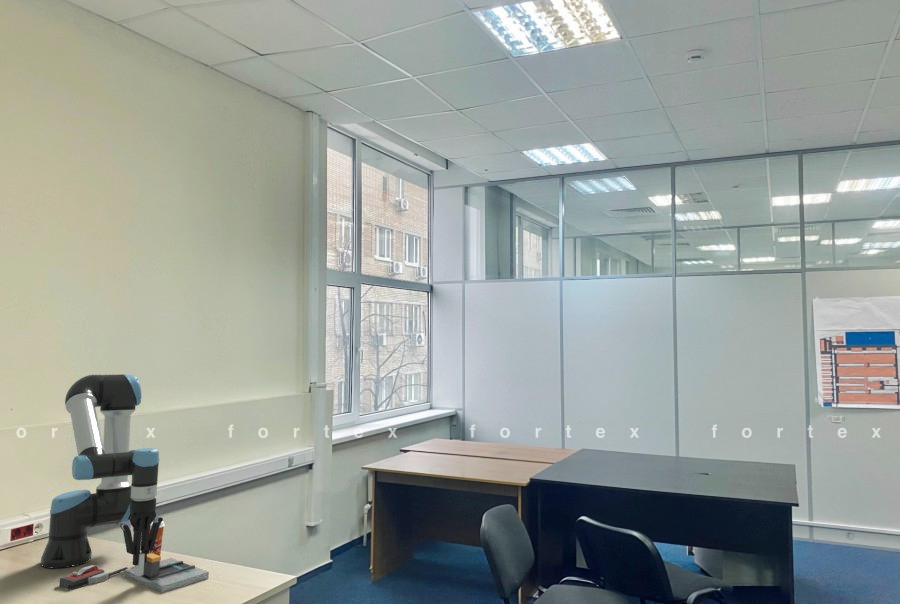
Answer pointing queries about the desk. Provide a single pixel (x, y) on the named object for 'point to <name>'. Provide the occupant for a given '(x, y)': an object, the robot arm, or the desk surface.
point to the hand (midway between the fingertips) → (138, 574)
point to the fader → (152, 565)
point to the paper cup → (157, 540)
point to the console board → (170, 575)
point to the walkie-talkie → (86, 577)
